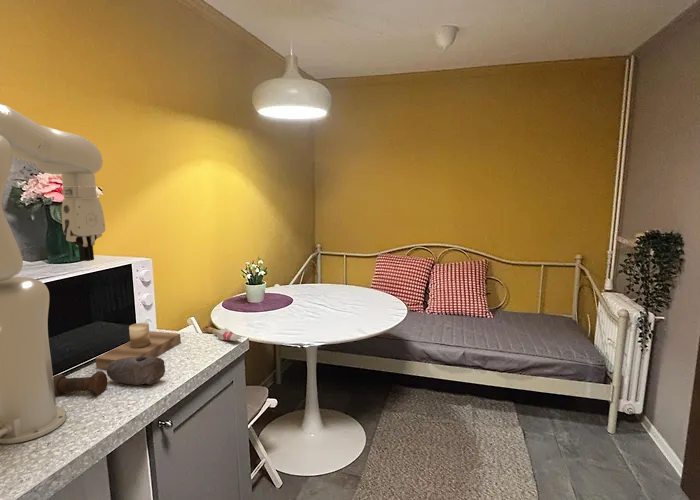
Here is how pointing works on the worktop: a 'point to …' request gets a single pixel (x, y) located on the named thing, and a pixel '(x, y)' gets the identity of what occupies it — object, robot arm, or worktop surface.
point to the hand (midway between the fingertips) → (87, 260)
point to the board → (140, 349)
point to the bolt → (81, 384)
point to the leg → (139, 335)
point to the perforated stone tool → (136, 370)
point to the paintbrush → (222, 333)
